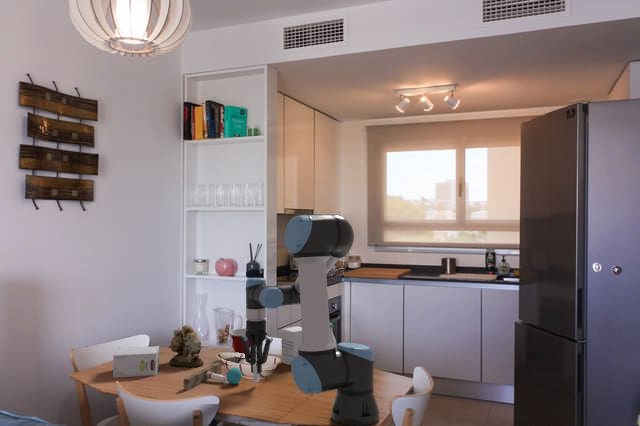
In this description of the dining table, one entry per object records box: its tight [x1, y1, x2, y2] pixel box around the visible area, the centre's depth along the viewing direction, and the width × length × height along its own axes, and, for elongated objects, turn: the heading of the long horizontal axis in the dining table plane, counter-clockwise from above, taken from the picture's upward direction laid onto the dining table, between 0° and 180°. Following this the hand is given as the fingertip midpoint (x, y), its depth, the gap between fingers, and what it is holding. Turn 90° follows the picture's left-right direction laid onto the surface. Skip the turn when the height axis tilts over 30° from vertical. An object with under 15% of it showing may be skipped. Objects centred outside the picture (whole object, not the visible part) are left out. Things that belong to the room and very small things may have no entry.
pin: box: [206, 371, 228, 384], centre depth 211 cm, size 2×2×8 cm
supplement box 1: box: [112, 345, 160, 379], centre depth 226 cm, size 17×13×9 cm
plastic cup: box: [229, 328, 250, 353], centre depth 249 cm, size 11×11×12 cm
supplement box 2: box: [280, 325, 303, 366], centre depth 238 cm, size 9×9×15 cm
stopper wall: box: [183, 362, 222, 391], centre depth 213 cm, size 24×2×4 cm, turn 160°
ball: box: [225, 367, 243, 385], centre depth 209 cm, size 6×6×6 cm
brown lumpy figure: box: [168, 324, 205, 369], centre depth 238 cm, size 18×12×17 cm, turn 60°
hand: (256, 381), depth 205 cm, fingers closed
